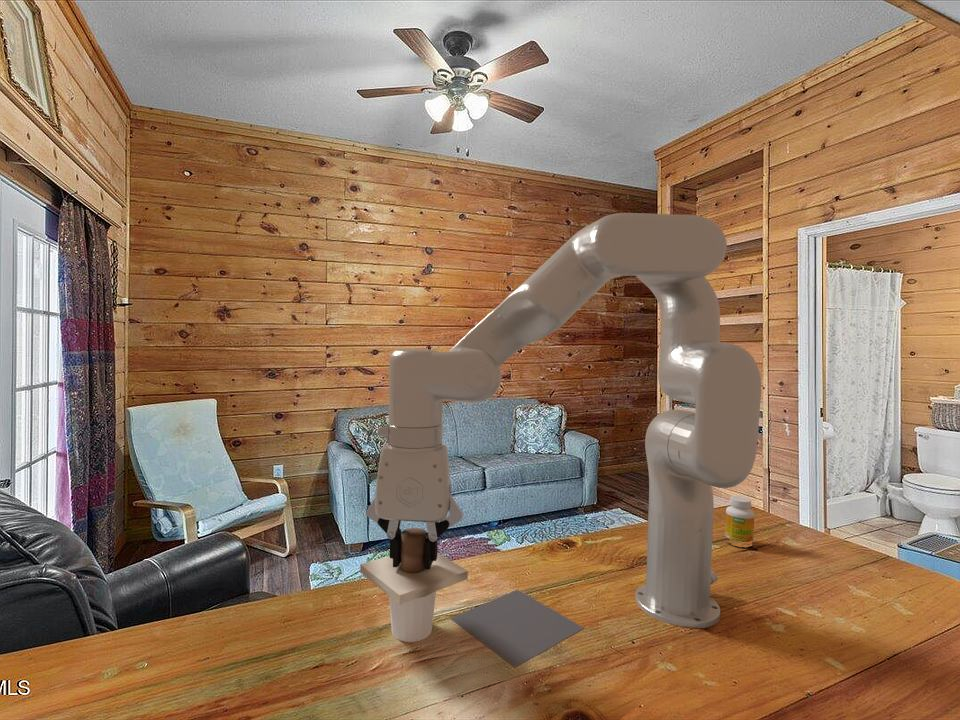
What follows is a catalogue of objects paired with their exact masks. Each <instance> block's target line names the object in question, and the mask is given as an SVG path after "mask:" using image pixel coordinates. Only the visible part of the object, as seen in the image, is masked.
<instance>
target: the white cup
mask: <svg viewBox="0 0 960 720" xmlns="http://www.w3.org/2000/svg"><path fill="white" fill-rule="evenodd" d="M436 594H437V591H435V592H432V593H429V594H427V595H424V596H421V597H419V598H416V599H414V600H411V601H408V602H406V603H403V604H400V605H399V604H398V603H397V602H396V601H395V600H393V599H392V598H391V597H390V596H388V598H389V599H388V600H389V614H390V626H391V633H392V636H393V638H395V639H397V640H398V641H401V642H405V643H406V642H407V643H415V642H419V641H422V640H425V639H426V638H428V637H429V636H430V635H431V633H432V630H433V623H434V620H433V619H434V614H435V603H436Z"/></svg>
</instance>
